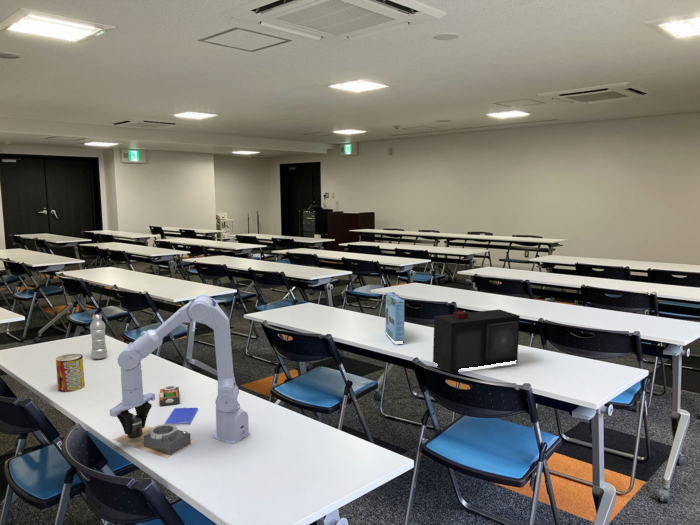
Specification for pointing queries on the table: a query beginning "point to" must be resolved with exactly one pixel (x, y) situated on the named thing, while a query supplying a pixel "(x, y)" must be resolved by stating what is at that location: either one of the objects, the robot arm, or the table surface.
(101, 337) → the plastic bottle
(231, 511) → the table surface
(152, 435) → the block with segmented ring
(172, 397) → the electronic device
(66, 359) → the tin can
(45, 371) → the table surface
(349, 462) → the table surface
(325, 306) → the table surface
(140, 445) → the cork mat
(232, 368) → the robot arm
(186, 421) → the hard drive
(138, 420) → the lens
